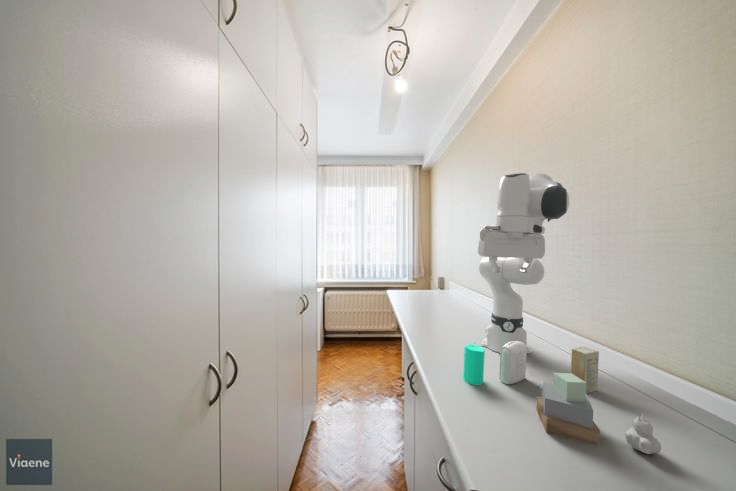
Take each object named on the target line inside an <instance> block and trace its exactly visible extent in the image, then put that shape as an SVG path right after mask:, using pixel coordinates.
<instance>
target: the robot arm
mask: <svg viewBox="0 0 736 491" xmlns="http://www.w3.org/2000/svg"><path fill="white" fill-rule="evenodd" d="M496 200H497V202H496V204H497V209H498V210H497V215H496V220H495V223H496V225H484V226H482V227H481V229H480V231H479V240H478V247H477V253H478V255H479V257H483V258H481V260H480V261H479V264H478V270H479V274H480V275H481V276H482V277H483V278H484V280H486V282H487V283H488V285H489V288H490V290H491V294H492V313H491V316H490V318H491V319H490V324H489V325H488V326H487V327H485V333H486V334H485V336H484V338H483V340H482V341H481V345H480V346H481V347H482V346H483V348H484V347H485V348H488V349H489V350H491V351H494V352H496V353H499V354H501V348H502V347H503V346H504V345H505V344H507V343H509V342H511V341H519V342H522V343H524V344H525V345H526V348H527V354H532V350H531V349H530V348H529V347H528V346H527V345H528V342H527V341H528V336H527V335H528V333H527V331H526V330H525V329H524V328H523V327H524V317H523V308H524V307H523V305H524V304H523V303H524V302H523V301H524V300H523V298H522V296H521V295H520V294H519V293H518V292H516V291H514V289H513V287H512V285H511V284H516V285H522V286H524V285H526V286H530V285H538V284H539V283H540V282H542V280H543V278H544V277H545V267H544V265H543V263H542V262H541V261H540V260H538V259H543V258H544V257H545V252H546V238H545V237H544V235H543V234H545V231H546V229H545V226H543V225H544V221H545V220H547V222H550V221H553V220H554V219H555V220H558V219H560V218H562V217H563V216H565V214H567V211H568V209H569V207H570V196H569V193H568V190H567V189H566V188H565V187H563V185H562V184H561V183H560V182H557V181H554V180H553V178H552V177H551V176H550V175H548V174H546V173H535V174H532V175H529V174H528V173H525V172H522V173H512V174H511V173H510V174H505V175H503V176H501V178H500V180H499V185H498V190H497V199H496Z"/></svg>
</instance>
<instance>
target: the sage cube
mask: <svg viewBox="0 0 736 491" xmlns="http://www.w3.org/2000/svg"><path fill="white" fill-rule="evenodd" d="M552 384H553V391H554V392H555V393H556V394H558V395H559V396H560V397H562V398H563V399H564V400H565V401H581V402H585V395H586V394H587V393H586V382H584V381H583V380H581V379H580V378H578V377H577V376H575V375H573V374H572V373H571V372H570V373H567V372H554V373H553V381H552Z"/></svg>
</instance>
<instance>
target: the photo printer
mask: <svg viewBox="0 0 736 491" xmlns="http://www.w3.org/2000/svg"><path fill="white" fill-rule="evenodd" d="M527 354H528V353H527V348H526V345H525V344H524V343H522V342H519V341H511V342H509V343H507V344H505V345H504V346H503V347H502V348H501V353H500V354H499V355H500V357H499V373H498V374H499V377H498V378H499V380H500V382H501V383H503V384H505V385H513V384H516V383H518V382H521V381H523V380H524V379H526V369H527V368H526V367H527Z"/></svg>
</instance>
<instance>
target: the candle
mask: <svg viewBox="0 0 736 491" xmlns="http://www.w3.org/2000/svg"><path fill="white" fill-rule="evenodd" d="M463 348H464V351H463V373H462V379H463V381H464V382H466V383H467V384H469V383H470V385H473V386H480V385H483V384H484V375H485V374H484V371H485V370H484V369H485V349H484V347H482V346H481V345H478V344H476V342H474V343H473V344H467V345H464V347H463Z"/></svg>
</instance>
